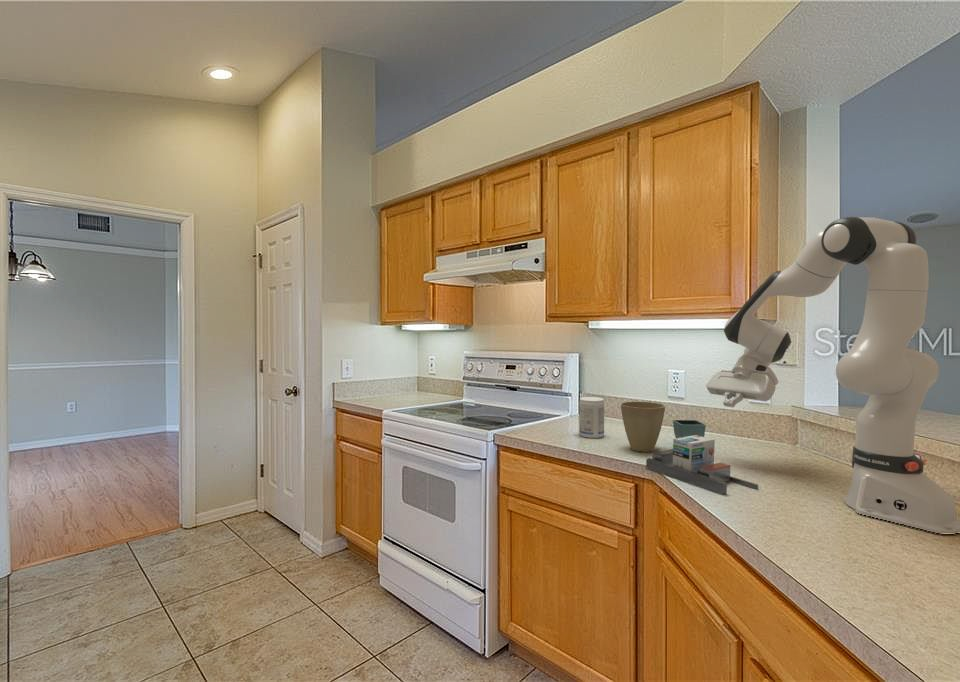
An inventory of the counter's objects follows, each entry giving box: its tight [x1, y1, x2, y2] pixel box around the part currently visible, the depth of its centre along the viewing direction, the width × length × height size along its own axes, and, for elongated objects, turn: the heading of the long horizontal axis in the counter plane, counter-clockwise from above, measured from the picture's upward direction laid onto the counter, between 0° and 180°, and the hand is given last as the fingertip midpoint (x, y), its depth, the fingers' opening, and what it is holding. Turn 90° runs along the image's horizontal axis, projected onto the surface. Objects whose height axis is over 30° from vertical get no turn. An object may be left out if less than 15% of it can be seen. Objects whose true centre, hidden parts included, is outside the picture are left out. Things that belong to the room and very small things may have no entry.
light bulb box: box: [672, 435, 716, 474], centre depth 147 cm, size 11×7×11 cm, turn 120°
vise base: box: [645, 448, 759, 496], centre depth 144 cm, size 28×13×5 cm, turn 29°
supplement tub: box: [578, 396, 605, 439], centre depth 195 cm, size 10×10×15 cm
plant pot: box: [620, 400, 666, 453], centre depth 175 cm, size 15×15×16 cm
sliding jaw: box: [700, 462, 731, 483], centre depth 140 cm, size 3×9×4 cm, turn 119°
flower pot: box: [672, 419, 707, 438], centre depth 179 cm, size 9×9×9 cm
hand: (727, 405), depth 154 cm, fingers closed
